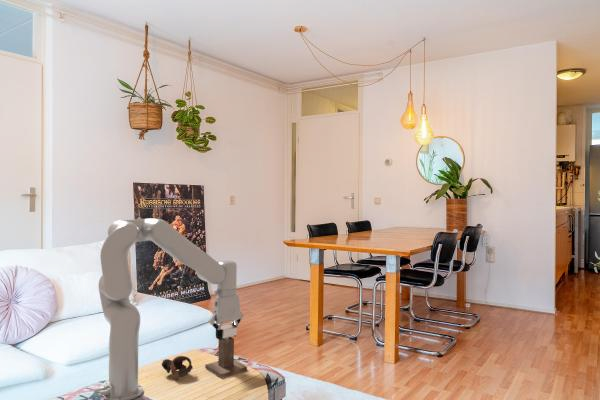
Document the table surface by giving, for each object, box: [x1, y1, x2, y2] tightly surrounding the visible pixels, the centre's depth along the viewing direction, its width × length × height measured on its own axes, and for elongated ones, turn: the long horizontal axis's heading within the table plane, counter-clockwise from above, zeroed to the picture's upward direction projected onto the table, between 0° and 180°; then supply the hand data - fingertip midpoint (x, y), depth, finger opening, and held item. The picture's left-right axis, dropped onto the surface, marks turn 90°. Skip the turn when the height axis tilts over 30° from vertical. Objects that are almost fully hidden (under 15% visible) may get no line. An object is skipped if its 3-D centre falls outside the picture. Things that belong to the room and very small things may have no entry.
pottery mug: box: [161, 355, 194, 381], centre depth 169 cm, size 12×10×8 cm
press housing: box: [204, 336, 248, 379], centre depth 175 cm, size 12×12×12 cm
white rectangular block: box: [221, 323, 238, 340], centre depth 175 cm, size 6×6×15 cm
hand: (226, 336), depth 175 cm, fingers closed on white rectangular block, 6 cm apart
